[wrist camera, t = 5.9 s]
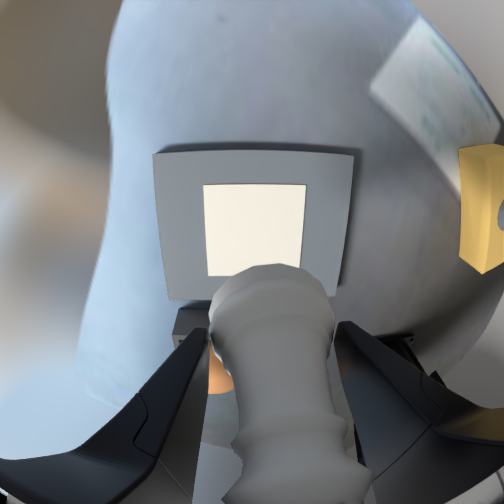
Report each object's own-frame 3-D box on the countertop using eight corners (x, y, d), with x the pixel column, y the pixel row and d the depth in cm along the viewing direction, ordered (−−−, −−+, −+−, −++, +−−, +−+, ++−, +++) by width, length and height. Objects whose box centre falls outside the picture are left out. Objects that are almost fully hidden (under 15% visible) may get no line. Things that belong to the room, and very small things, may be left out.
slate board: (349, 154, 16) (354, 156, 15) (332, 290, 20) (335, 296, 19) (156, 153, 15) (151, 154, 15) (170, 293, 20) (168, 300, 19)
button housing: (247, 308, 20) (248, 335, 18) (247, 355, 23) (248, 382, 20) (178, 308, 20) (171, 335, 17) (187, 355, 22) (183, 381, 20)
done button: (237, 337, 19) (237, 362, 17) (238, 369, 20) (238, 393, 18) (186, 337, 18) (181, 361, 16) (192, 369, 20) (189, 393, 18)
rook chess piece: (338, 261, 10) (459, 470, 2) (311, 351, 11) (358, 524, 4) (211, 251, 9) (176, 524, 2) (208, 347, 11) (197, 539, 4)
